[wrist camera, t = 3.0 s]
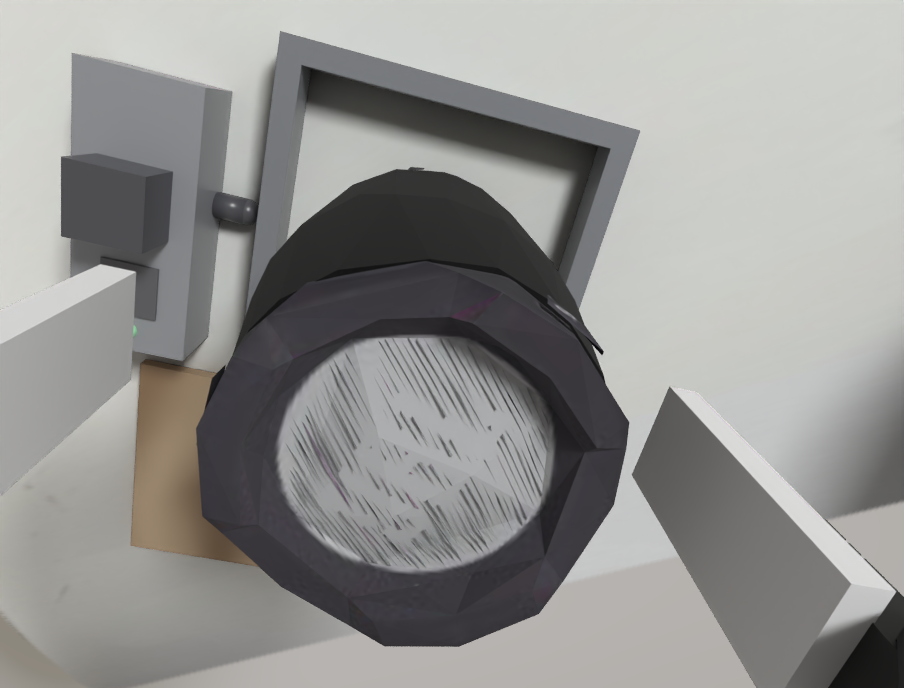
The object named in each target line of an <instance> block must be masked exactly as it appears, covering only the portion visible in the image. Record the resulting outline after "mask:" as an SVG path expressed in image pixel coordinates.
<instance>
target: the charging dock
mask: <svg viewBox="0 0 904 688" xmlns="http://www.w3.org/2000/svg"><path fill="white" fill-rule="evenodd" d="M311 69H313V70H317V71H320V72H324V73H328V74H331V75H335V76H339V77H342V78H346V79H350V80H354V81H357V82H361V83H365V84H368V85H372V86H376V87H379V88H383V89H387V90H391V91H394V92H398V93H402V94H405V95H409V96H413V97H416V98H420V99H424V100H428V101H431V102H435V103H439V104H442V105H446V106H450V107H453V108H457V109H461V110H465V111H468V112H472V113H476V114H479V115H483V116H487V117H491V118H494V119H498V120H502V121H505V122H509V123H513V124H516V125H520V126H524V127H528V128H531V129H535V130H539V131H542V132H546V133H550V134H553V135H557V136H561V137H565V138H568V139H572V140H576V141H579V142H583V143H587V144H590V145H594V146H598V149H597V152H596V155H595V158H594V161H593V165H592V168H591V171H590V174H589V177H588V180H587V183H586V186H585V189H584V192H583V196H582V199H581V202H580V205H579V208H578V211H577V214H576V217H575V220H574V223H573V227H572V230H571V233H570V236H569V239H568V242H567V245H566V248H565V251H564V255H563V258H562V261H561V264H560V267H559V270H558V273H559V274H560V276H561V278H562V279H563V281H564V283H565V284H566V286H567V288H568V289H569V291H570V293H571V294H572V296H573V298H574V299H575V301H576V304H577V307H578V309H579V307H580V304H581V302H582V299H583V296H584V293H585V290H586V287H587V284H588V281H589V278H590V275H591V272H592V270H593V267H594V264H595V261H596V258H597V255H598V252H599V249H600V246H601V243H602V240H603V238H604V235H605V232H606V229H607V226H608V223H609V220H610V217H611V214H612V211H613V209H614V206H615V203H616V200H617V197H618V194H619V191H620V188H621V185H622V182H623V179H624V177H625V174H626V171H627V168H628V165H629V162H630V159H631V156H632V153H633V150H634V148H635V145H636V142H637V139H638V136H639V133H640V130H636V129H632V128H629V127H625V126H622V125H618V124H614V123H611V122H607V121H603V120H600V119H596V118H593V117H589V116H585V115H582V114H578V113H574V112H571V111H567V110H564V109H560V108H556V107H553V106H549V105H546V104H542V103H538V102H535V101H531V100H527V99H524V98H520V97H517V96H513V95H509V94H506V93H502V92H498V91H495V90H491V89H488V88H484V87H480V86H477V85H473V84H470V83H466V82H462V81H459V80H455V79H451V78H448V77H444V76H441V75H437V74H433V73H430V72H426V71H422V70H419V69H415V68H412V67H408V66H404V65H401V64H397V63H393V62H390V61H386V60H383V59H379V58H375V57H372V56H368V55H365V54H361V53H357V52H354V51H350V50H346V49H343V48H339V47H336V46H332V45H328V44H325V43H321V42H317V41H314V40H310V39H307V38H303V37H299V36H296V35H292V34H289V33H285V32H281V31H280V37H279V45H278V53H277V61H276V69H275V77H274V85H273V94H272V102H271V110H270V118H269V126H268V134H267V143H266V151H265V159H264V167H263V175H262V183H261V191H260V200H259V206H258V204H257V203H256V202H254V201H253V200H250V199H246V198H242V197H238V196H234V195H230V194H226V193H221V192H217V193H216V194H215V196H214V199H213V203H212V215H213V217H214V218H219V219H223V220H227V221H231V222H236V223H240V224H244V225H251V224H254V223H256V222H257V224H256V232H255V240H254V248H253V257H252V265H251V273H250V281H249V289H248V297H247V306H246V313H247V310H248V307H249V304H250V301H251V298H252V296H253V294H254V292H255V290H256V288H257V286H258V284H259V281H260V279H261V277H262V275H263V273H264V271H265V269H266V267H267V265H268V263H269V260H270V259H271V258H272V257H273V256H274V255H275V253H276V252H277V251H278V250H279V249H280V248H281V247H282V246H283V245H284V244H285V242H286V241H287V234H288V227H289V220H290V213H291V206H292V199H293V192H294V185H295V178H296V171H297V164H298V157H299V150H300V144H301V137H302V130H303V123H304V116H305V109H306V102H307V95H308V88H309V81H310V74H311ZM245 316H246V314H245Z"/></svg>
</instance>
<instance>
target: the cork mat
mask: <svg viewBox="0 0 904 688" xmlns="http://www.w3.org/2000/svg"><path fill="white" fill-rule="evenodd" d="M216 374H217V373H212V372H207V371H202V370H197V369H192V368H187V367H182V366H177V365H172V364H167V363H162V362H157V361H152V360H147V359H146V360H145V361H143V362H142V363H141V367H140V385H139V404H138V422H137V440H136V459H135V477H134V495H133V514H132V532H131V546H136V547H142V548H148V549H154V550H161V551H167V552H173V553H179V554H185V555H191V556H197V557H203V558H210V559H216V560H222V561H228V562H234V563H240V564H246V565H252V566H258V565H257V564H255V563H254V562H253V561H252V560H251V559H250V558H249V557H248V556H247V555H246V554H244V553H243V552H242V551H241V550H240V549H239V548H238V547H237V546H236V545H234V544H233V543H232V542H231V541H230V540H229V539H228V538H227V537H226V536H224V535H223V534H222V533H221V532H220V531H219V530H218V529H216V528H215V527H214V526H213V525H212V524H211V523H209V522H208V521H207V520H206V519H205V518H204V517H202V507H201V493H200V479H199V465H198V451H197V445H196V444H197V436H196V427H197V425H198V423H199V421H200V419H201V417H202V415H203V413H204V410H205V405H206V401H207V397H208V393H209V389H210V384H211V380H212V378H213V377H214V376H215V375H216Z"/></svg>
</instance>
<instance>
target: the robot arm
mask: <svg viewBox="0 0 904 688" xmlns="http://www.w3.org/2000/svg"><path fill="white" fill-rule="evenodd" d="M135 286H136V272H134V271H130V270H125V269H120V268H116V267H111V266H106V265H102V264H100V265H98V266H96V267H93V268H91V269H89V270H87V271H85V272H82V273H80V274H78V275H76V276H73V277H71V278H69V279H67V280H65V281H62V282H60V283H58V284H56V285H53V286H51V287H49V288H47V289H45V290H42V291H40V292H38V293H36V294H34V295H31V296H29V297H27V298H25V299H22V300H20V301H18V302H16V303H14V304H11V305H9V306H7V307H5V308H2V309H0V496H1V495H2V494H4V493H5V492H6V491H7V490H8V489H9V488H10V487H11V486H13V485H14V484H15V483H16V482H17V481H18V480H19V479H20V478H21V477H23V476H24V475H25V474H26V473H27V472H28V471H29V470H30V469H32V468H33V467H34V466H35V465H36V464H37V463H38V462H39V461H41V460H42V459H43V458H44V457H45V456H46V455H47V454H48V453H49V452H51V451H52V450H53V449H54V448H55V447H56V446H57V445H58V444H60V443H61V442H62V441H63V440H64V439H65V438H66V437H67V436H69V435H70V434H71V433H72V432H73V431H74V430H75V429H76V428H77V427H79V426H80V425H81V424H82V423H83V422H84V421H85V420H86V419H88V418H89V417H90V416H91V415H92V414H93V413H94V412H95V411H96V410H98V409H99V408H100V407H101V406H102V405H103V404H104V403H105V402H107V401H108V400H109V399H110V398H111V397H112V396H113V395H114V394H116V393H117V392H118V391H119V390H120V389H121V388H122V387H123V386H124V385H126V384H127V383H128V382H129V381H130V380H131V369H132V349H133V328H134V307H135ZM632 476H633V478H634V479H635V481H636V483H637V485H638V486H639V488H640V490H641V491H642V493H643V495H644V497H645V498H646V500H647V502H648V503H649V505H650V507H651V508H652V510H653V512H654V514H655V515H656V517H657V519H658V520H659V522H660V524H661V526H662V527H663V529H664V531H665V532H666V534H667V536H668V538H669V539H670V541H671V543H672V544H673V546H674V548H675V549H676V551H677V553H678V555H679V556H680V558H681V560H682V561H683V563H684V565H685V566H686V568H687V570H688V572H689V573H690V575H691V577H692V578H693V580H694V582H695V584H696V585H697V587H698V589H699V590H700V592H701V594H702V595H703V597H704V599H705V601H706V602H707V604H708V606H709V608H710V609H711V611H712V613H713V614H714V616H715V618H716V619H717V621H718V623H719V625H720V626H721V628H722V630H723V631H724V633H725V635H726V636H727V638H728V640H729V642H730V643H731V645H732V647H733V648H734V650H735V652H736V653H737V655H738V657H739V659H740V660H741V662H742V664H743V665H744V667H745V669H746V671H747V672H748V674H749V676H750V678H751V679H752V681H753V682H754V684H755V686H756V688H904V597H903V596H902V595H901V594H900V593H899V592H898V591H897V590H896V589H895V588H894V587H893V586H892V585H891V584H890V583H889V582H888V581H887V580H886V579H885V578H884V577H883V576H882V575H881V574H880V573H879V572H878V571H877V570H876V569H875V568H874V567H873V566H872V565H871V564H870V563H869V562H868V561H867V560H866V559H863V558H862V557H861V554H860V553H859V552H858V551H857V550H856V549H855V548H854V547H853V546H852V545H851V544H850V543H847V542H846V541H845V540H846V539H845V538H844V537H843V536H842V535H841V534H840V533H839V532H838V531H837V530H836V529H835V528H834V527H833V526H832V525H831V524H830V523H829V522H828V521H827V520H825V519H824V518H823V517H821V516H820V515H819V514H818V513H817V512H816V511H815V510H814V509H813V508H812V507H811V506H810V505H809V504H808V503H807V502H806V501H805V500H804V499H803V498H802V497H801V496H800V495H799V494H798V493H797V492H796V491H795V490H794V489H793V488H792V487H791V486H790V485H789V484H788V483H787V482H786V481H785V480H784V479H783V478H782V477H781V476H780V475H779V474H778V473H777V472H776V471H775V470H774V469H773V468H772V467H771V466H770V465H769V464H768V463H767V462H766V461H765V460H764V459H763V458H762V457H761V456H760V455H759V454H758V453H757V452H756V451H755V450H754V449H753V448H752V447H751V446H750V445H749V444H748V443H747V442H746V441H745V440H744V439H743V438H742V437H741V436H740V435H739V434H738V433H737V432H736V431H735V430H734V429H733V428H732V427H731V426H730V425H729V424H728V423H727V422H726V421H725V420H724V419H723V418H722V417H721V416H720V415H719V414H718V413H717V412H716V411H715V410H714V409H713V408H712V407H711V406H710V405H709V404H708V403H707V402H706V401H705V400H704V399H703V398H702V397H701V396H700V395H699V394H698V393H697V392H694V391H689V390H684V389H680V388H675V387H669V389H668V391H667V394H666V396H665V398H664V401H663V403H662V405H661V408H660V410H659V413H658V415H657V417H656V420H655V422H654V424H653V427H652V429H651V431H650V434H649V436H648V438H647V441H646V443H645V445H644V448H643V450H642V452H641V455H640V457H639V459H638V462H637V464H636V466H635V469H634V471H633V473H632Z"/></svg>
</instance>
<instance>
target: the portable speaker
mask: <svg viewBox="0 0 904 688" xmlns="http://www.w3.org/2000/svg"><path fill="white" fill-rule="evenodd" d="M423 169H424V168H414V167H410V168H409V169H408V170H399V169H396V170H393V171H390V172H387V173H385V174H382V175H379V176H376V177H373V178H371V179H368V180H365V181H362V182H359V183H357V184H354V185H352V186H351V187H350V188H348V189H347V190H346V191H344V192H343V193H342V194H341V195H339V196H338V197H337V198H335V199H334V200H333V201H332V202H330V203H329V204H328V205H326V206H325V207H324V208H323V209H321V210H320V211H319V212H317V213H316V214H315V215H314V216H312V217H311V218H310V219H308V220H307V221H306V222H305V223H303V224H302V225H301V226H300V227H299V228H298V229H297V230H296V231H295V233H294V234H293V235H292V236H291V237H290V238H289V239H288V240H287V241H286V242H285V244H284V245H283V246H282V247H281V248H280V249H279V250H278V251H277V252H276V253H275V255H274V256H273V257H272V258H271V259H270V260H269V263H268V265H267V267H266V269H265V271H264V273H263V275H262V277H261V279H260V281H259V284H258V286H257V288H256V290H255V292H254V294H253V296H252V298H251V301H250V304H249V307H248V310H247V313H246V316H245V319H244V322H243V326H242V329H241V332H240V335H239V338H238V341H237V344H236V347H235V350H234V353H233V356H232V357H231V359H230V361H229V363H228V365H227V367H226V369H225V366H226V365H225V366H224V367H223V368H222V369H221V370H220V371H219V372H218V373H217V374H216V375H215V376H214V377H213V378H212V380H211V384H210V389H209V393H208V397H207V401H206V405H205V410H204V413H203V415H202V417H201V419H200V421H199V423H198V425H197V427H196V436H197V444H196V445H197V451H198V465H199V479H200V493H201V507H202V517H204V518H205V519H206V520H207V521H208V522H209V523H211V524H212V525H213V526H214V527H215V528H216V529H218V530H219V531H220V532H221V533H222V534H223V535H224V536H226V537H227V538H228V539H229V540H230V541H231V542H232V543H233V544H234V545H236V546H237V547H238V548H239V549H240V550H241V551H242V552H243V553H244V554H246V555H247V556H248V557H249V558H250V559H251V560H252V561H253V562H254V563H255V564H257V565H258V566H259V567H260V568H261V569H262V570H263V571H264V572H265V573H267V574H268V575H269V576H270V577H271V578H272V579H273V580H274V581H275V582H277V583H278V584H279V585H280V586H281V587H283V588H285V589H286V590H288V591H290V592H292V593H293V594H295V595H297V596H299V597H300V598H302V599H304V600H306V601H307V602H309V603H311V604H313V605H314V606H316V607H318V608H320V609H321V610H323V611H325V612H327V613H328V614H330V615H332V616H334V617H335V618H337V619H339V620H341V621H342V622H344V623H346V624H348V625H349V626H351V627H353V628H354V629H356V630H358V631H359V632H361V633H363V634H365V635H366V636H368V637H370V638H371V639H373V640H375V641H377V642H378V643H380V644H382V645H383V646H454V647H457V646H458V647H459V646H461V645H464V644H466V643H469V642H471V641H474V640H476V639H478V638H481V637H483V636H486V635H488V634H491V633H493V632H496V631H498V630H500V629H503V628H505V627H508V626H510V625H513V624H515V623H518V622H520V621H522V620H525V619H527V618H530V617H532V616H535V615H537V614H539V613H540V611H541V610H542V609H543V607H544V606H545V605H546V604H547V602H548V601H549V599H550V598H551V597H552V595H553V594H554V593H555V591H556V590H557V589H558V587H559V586H560V585H561V583H562V582H563V581H564V579H565V578H566V576H567V574H568V573H569V571H570V570H571V568H572V567H573V565H574V564H575V562H576V561H577V559H578V558H579V556H580V555H581V553H582V552H583V550H584V549H585V547H586V546H587V544H588V543H589V541H590V540H591V538H592V537H593V535H594V534H595V532H596V531H597V529H598V528H599V526H600V525H601V523H602V522H603V520H604V519H605V517H606V516H607V514H608V513H609V511H610V510H611V508H612V507H613V505H614V501H615V497H616V492H617V488H618V483H619V479H620V474H621V470H622V465H623V461H624V456H625V452H626V446H627V437H628V428H629V421H628V420H627V418H626V417H625V415H624V413H623V412H622V410H621V409H620V407H619V405H618V404H617V402H616V401H615V399H614V397H613V396H612V394H611V392H610V391H609V389H608V388H607V386H606V384H605V380H604V375H603V373H602V370H601V367H600V365H599V362H598V359H597V357H596V354H595V352H594V349H593V346H594V347H595V348H596V349H597V350H598V351H599V353H600V354H601V355H602V354H603V352H604V351H603V350H602V349H601V347H600V346H599V345H598V343H597V342H596V340H595V339H594V338H593V336H592V335H591V334H590V332H589V331H588V329H587V328H586V327H585V325H584V323H583V320H582V317H581V315H580V312H579V309H578V307H577V304H576V301H575V299H574V298H573V296H572V294H571V293H570V291H569V289H568V288H567V286H566V284H565V283H564V281H563V279H562V278H561V276H560V274H559V273H558V271H557V269H556V268H555V266H554V264H553V263H552V262H551V261H550V260H549V258H548V257H547V256H546V255H545V254H544V252H543V251H542V250H541V249H540V248H539V246H538V245H537V244H536V243H535V242H534V241H533V239H532V238H531V237H530V236H529V235H528V233H527V232H526V231H525V230H524V229H523V228H522V226H521V225H520V224H519V223H518V222H517V220H516V219H515V218H514V217H513V216H512V215H511V213H509V212H508V211H507V210H506V209H505V208H504V207H502V206H501V205H500V204H499V203H498V202H497V201H495V200H494V199H493V198H492V197H491V196H490V195H489V194H487V193H486V192H485V191H484V190H483V189H481V188H479V187H477V186H475V185H473V184H471V183H469V182H467V181H465V180H463V179H461V178H459V177H457V176H454V175H451V174H448V173H445V172H434V171H421V170H423ZM592 345H593V346H592ZM224 370H225V371H224Z"/></svg>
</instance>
